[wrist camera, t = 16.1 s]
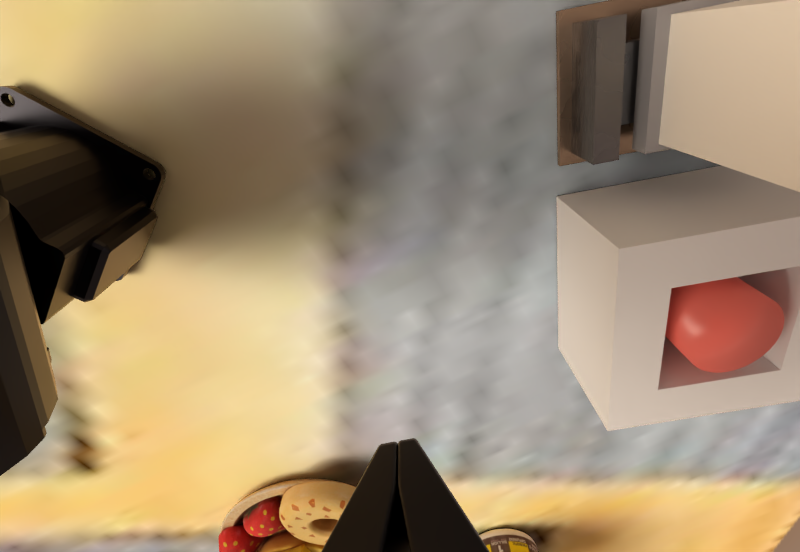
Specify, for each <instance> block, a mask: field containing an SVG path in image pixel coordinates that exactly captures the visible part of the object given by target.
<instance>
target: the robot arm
mask: <svg viewBox="0 0 800 552" xmlns="http://www.w3.org/2000/svg"><path fill="white" fill-rule="evenodd" d="M9 94H10V95H11V96H12V97H13V98H14V100H15V105H13V104H12V103H11V102H10V100H9V97H8V95H9ZM148 168H149V169H152V170H153V171H154V173H155V178H154V177H151V176H150V175H149V174H148V172H147V170H148ZM165 175H166V173H165V170H164V168H163V167H162V165H161V164H159V163H158V162H156V161H154V160H152V159H151V158H149V157H147V156H145V155H143V154H141V153H139V152H137V151H136V150H134V149H132V148H130V147H128V146H126V145H124V144H123V143H121V142H119V141H117V140H115V139H113V138H111V137H109V136H108V135H106V134H104V133H102V132H100V131H98V130H96V129H94V128H93V127H91V126H89V125H87V124H85V123H83V122H81V121H79V120H78V119H76V118H74V117H72V116H70V115H68V114H66V113H65V112H63V111H61V110H59V109H57V108H55V107H53V106H51V105H50V104H48V103H46V102H44V101H42V100H40V99H38V98H36V97H35V96H33V95H31V94H29V93H27V92H25V91H23V90H21V89H20V88H18V87H15V86H1V87H0V476H1V475H2V474H3V473H5V472H6V471H7V470H9V469H10V468H11V467H13V466H14V465H15V464H17V463H18V462H19V461H21V460H22V459H23V458H25V457H26V456H27V455H29V453H30V452H31V451H32V450H33V449H34V448H35V447H36V446H37V445H38V444H39V443H40V442H41V441H42V440H43V439H44V438H45V435H46V429H45V425H46V424H47V423H48V421H49V419H50V416H51V414H52V412H53V409H54V407H55V404H56V402H57V400H58V396H57V390H56V383H55V378H54V374H53V370H52V366H51V356H50V352H49V348H48V347H46V343H45V339H44V336H43V332H42V328H41V324H44V323H45V322H46V321H47V320H49V319H50V318H51V317H52V316H53V315H55V314H56V313H57V312H58V311H60V310H61V309H62V308H63V307H65V306H66V305H67V304H68V303H69V302H71V301H72V300H73V299H74V298H76V299H78V300H81V301H83V302H88V301H91V300H94V299H95V298H96V297H97V296H98V295H99V294H101V293H102V292H103V291H104V290H105V289H106V288H108V287H109V286H110V285H111V284H112V283H113V282H114V281H119V280H121V279H122V278H123V277H124V276H126V274H127V273H128V270H129V268H131V267H132V266H133V265H134V264H135V263H136V262H137V261H139V260H140V259H141V257H142V255H143V252H144V250H145V247H146V245H147V243H148V240H149V238H150V235H151V233H152V230H153V228H154V225H155V223H156V220H157V215H156V212H155V211H154V210H153V207H154V205H155V202H156V200H157V197H158V194H159V192H160V189H161V187H162V184H163V182H164V179H165ZM321 552H490V551H489V550H488V548H487V547H486V545H485V544H484V542H483V541H482V539H481V537H480V536H479V534H478V533H477V531H476V530H475V528H474V527H473V525H472V524H471V522H470V521H469V519H468V518H467V516H466V515H465V513H464V511H463V510H462V508H461V507H460V505H459V504H458V502H457V501H456V499H455V498H454V496H453V495H452V493H451V492H450V490H449V488H448V487H447V485H446V484H445V482H444V481H443V479H442V478H441V476H440V475H439V473H438V472H437V470H436V469H435V467H434V465H433V464H432V462H431V461H430V459H429V458H428V456H427V455H426V453H425V452H424V450H423V449H422V447H421V446H420V444H419V443H418V441H417V440H416V439H414V438H412V439H407V440H401V441H399V443H397V442H390V443H385V444H381V445H379V447H378V448H377V450H376V452H375V454H374V456H373V457H372V459H371V461H370V463H369V465H368V467H367V468H366V470H365V472H364V474H363V476H362V478H361V479H360V481H359V483H358V485H357V487H356V489H355V490H354V492H353V494H352V496H351V498H350V500H349V501H348V503H347V505H346V507H345V509H344V511H343V512H342V514H341V516H340V518H339V520H338V522H337V523H336V525H335V527H334V529H333V531H332V533H331V534H330V536H329V538H328V540H327V542H326V544H325V545H324V547H323V549H322V551H321Z"/></svg>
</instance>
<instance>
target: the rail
mask: <svg viewBox="0 0 800 552" xmlns="http://www.w3.org/2000/svg"><path fill="white" fill-rule="evenodd" d="M681 1H686V0H609V1H604V2H599V3H595V4H590V5H585V6H580V7H576V8H571V9H566V10H561V11H557V12H556V44H557V141H558V165H559V166H563V165H569V164H574V163H579V162H584V161H588V162H589V163H591V164H593V165H594V164H599V163H604V162H610V161H615V160H619V155H621V154H626V153H631V152H637V151H636V150H634V149H632V141H633V127H634V112H635V98H636V84H637V70H638V55H639V41H640V27H641V13H642V10H643V9H648V8H652V7H657V6H662V5H667V4H672V3H677V2H681Z"/></svg>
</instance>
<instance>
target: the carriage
mask: <svg viewBox="0 0 800 552" xmlns="http://www.w3.org/2000/svg"><path fill="white" fill-rule="evenodd" d="M632 149H634V150H636V151H639V152H641V153H644V154H648V153H653V152H659V151H664V150H669V149H675V150H678V151H681V152H684V153H687V154H690V155H692V156H695V157H698V158H701V159H704V160H707V161H710V162H713V163H716V164H719V165H722V166H725V167H728V168H730V169H733V170H736V171H739V172H742V173H745V174H748V175H751V176H754V177H757V178H760V179H763V180H766V181H768V182H771V183H774V184H777V185H780V186H783V187H786V188H789V189H792V190H795V191H798V192H800V0H686V1H681V2H677V3H672V4H667V5H662V6H657V7H652V8H648V9H643V10H642V13H641V27H640V41H639V55H638V70H637V84H636V98H635V112H634V127H633V141H632Z"/></svg>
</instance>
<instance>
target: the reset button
mask: <svg viewBox="0 0 800 552" xmlns="http://www.w3.org/2000/svg"><path fill="white" fill-rule="evenodd" d="M783 327H784V313H783V310H782V308H781V307H780V305H779V304H778V303H777V302H775V301H774V300H772V299H771V298H769V297H768V296H766V295H764V294H763V293H761V292H760V291H758V290H757V289H755V288H754V287H752V286H750V285H749V284H747V283H746V282H744V281H743V280H741V279H739V278H738V277H733V278H727V279H722V280H716V281H710V282H704V283H699V284H693V285H687V286H681V287H676V288H671V296H670V303H669V311H668V318H667V326H666V333H665V337H666V338H667V339H668V340H669V341H670V342H671V343H672V344H673V345H674V346H675V347H676V348H677V349H678V350H679V351H680V352H681V353H682V354H683V355H684V356H685V357H686V358H687V359H688V360H689V361H690V362H691V363H692V364H693V365H694V366H696V367H697V368H699V369H701V370H703V371H707V372H713V373H722V372H729V371H733V370H737V369H740V368H742V367H745V366H747V365H749V364H751V363H753V362H754V361H756V360H757V359H759V358H760V357H762V356H763V355H764V354H765V353H767V352H768V351H769V350H770V349H771V348H772V346H773V345H774V344H775V343H776V341H777V340H778V338H779V337H780V335H781V333H782V330H783Z"/></svg>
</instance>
